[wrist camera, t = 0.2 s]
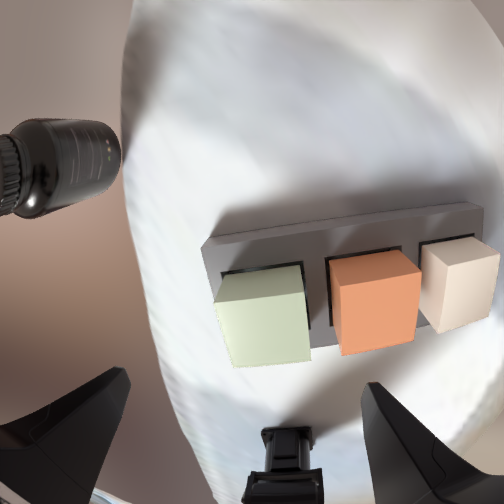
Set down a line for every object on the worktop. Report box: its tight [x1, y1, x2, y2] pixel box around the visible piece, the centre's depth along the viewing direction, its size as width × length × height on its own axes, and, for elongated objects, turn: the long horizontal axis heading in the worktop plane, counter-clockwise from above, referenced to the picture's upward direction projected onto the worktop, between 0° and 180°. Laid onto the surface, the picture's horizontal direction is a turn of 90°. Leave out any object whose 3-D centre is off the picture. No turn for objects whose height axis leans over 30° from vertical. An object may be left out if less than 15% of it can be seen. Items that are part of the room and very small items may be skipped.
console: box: [201, 202, 483, 348], centre depth 21 cm, size 10×23×2 cm, turn 101°
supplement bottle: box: [0, 118, 121, 219], centre depth 15 cm, size 7×7×12 cm
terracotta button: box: [329, 250, 422, 356], centre depth 18 cm, size 5×5×4 cm
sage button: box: [213, 265, 311, 368], centre depth 19 cm, size 5×5×4 cm
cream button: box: [418, 237, 501, 334], centre depth 16 cm, size 5×5×4 cm
